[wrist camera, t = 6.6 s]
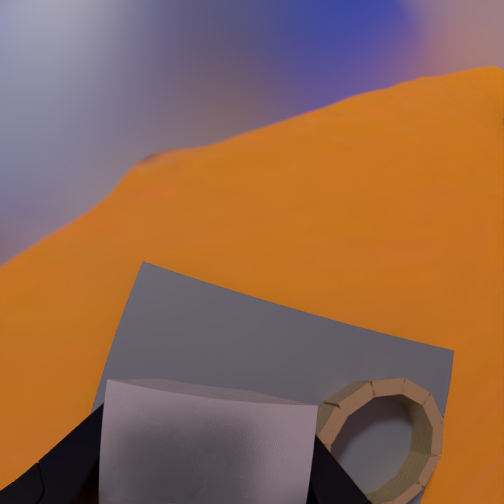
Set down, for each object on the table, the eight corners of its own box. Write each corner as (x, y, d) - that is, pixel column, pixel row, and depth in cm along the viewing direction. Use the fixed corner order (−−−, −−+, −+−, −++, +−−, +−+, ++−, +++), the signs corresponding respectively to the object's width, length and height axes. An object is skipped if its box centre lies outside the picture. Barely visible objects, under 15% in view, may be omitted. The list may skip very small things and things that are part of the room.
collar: (436, 451, 17) (457, 455, 15) (336, 529, 15) (350, 542, 12) (389, 354, 20) (410, 350, 18) (273, 430, 17) (283, 436, 15)
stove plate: (446, 352, 22) (454, 350, 21) (399, 534, 15) (405, 538, 14) (145, 266, 21) (142, 261, 20) (79, 480, 14) (74, 484, 14)
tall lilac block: (242, 469, 12) (293, 568, 4) (155, 459, 12) (100, 549, 4) (250, 390, 14) (317, 405, 6) (163, 379, 13) (107, 379, 5)
